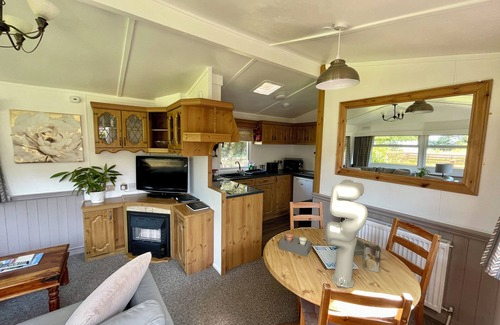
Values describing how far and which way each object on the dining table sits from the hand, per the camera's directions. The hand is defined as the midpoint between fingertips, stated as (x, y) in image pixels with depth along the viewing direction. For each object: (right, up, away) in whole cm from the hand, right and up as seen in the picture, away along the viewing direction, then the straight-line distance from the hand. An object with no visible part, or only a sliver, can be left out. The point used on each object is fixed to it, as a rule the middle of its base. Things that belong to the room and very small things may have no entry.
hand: (344, 220), depth 149 cm
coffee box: (+15, -31, -6) cm, 35 cm away
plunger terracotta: (-36, -23, +19) cm, 47 cm away
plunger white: (-27, -23, +14) cm, 38 cm away
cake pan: (+13, -29, +21) cm, 38 cm away
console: (-32, -27, +17) cm, 45 cm away
